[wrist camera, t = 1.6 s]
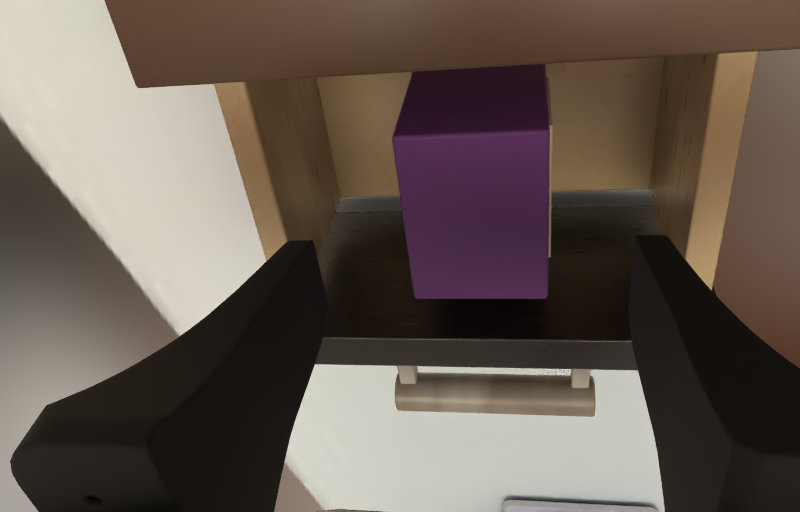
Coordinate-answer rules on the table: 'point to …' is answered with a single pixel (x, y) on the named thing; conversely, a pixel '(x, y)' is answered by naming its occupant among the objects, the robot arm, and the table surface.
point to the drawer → (570, 226)
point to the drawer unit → (427, 35)
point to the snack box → (477, 181)
